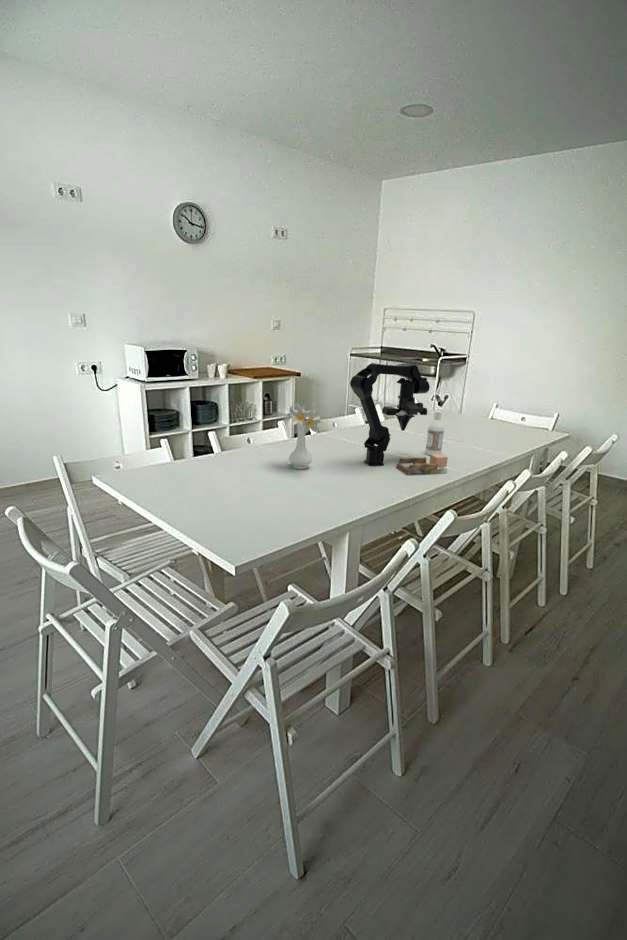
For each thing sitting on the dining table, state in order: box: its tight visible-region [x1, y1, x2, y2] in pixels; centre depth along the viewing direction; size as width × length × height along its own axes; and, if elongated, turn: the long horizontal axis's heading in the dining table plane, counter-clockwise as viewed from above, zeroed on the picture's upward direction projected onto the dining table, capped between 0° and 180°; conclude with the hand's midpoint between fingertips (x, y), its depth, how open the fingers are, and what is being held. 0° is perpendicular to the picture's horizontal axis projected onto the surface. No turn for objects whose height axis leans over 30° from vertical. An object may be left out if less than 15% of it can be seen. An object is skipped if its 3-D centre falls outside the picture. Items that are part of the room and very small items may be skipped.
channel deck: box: [396, 456, 448, 476], centre depth 197 cm, size 18×10×4 cm, turn 107°
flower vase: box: [284, 402, 322, 470], centre depth 190 cm, size 13×18×25 cm
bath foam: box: [425, 410, 445, 456], centre depth 220 cm, size 7×7×20 cm
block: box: [429, 453, 448, 468], centre depth 199 cm, size 5×5×4 cm
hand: (402, 430), depth 208 cm, fingers closed
